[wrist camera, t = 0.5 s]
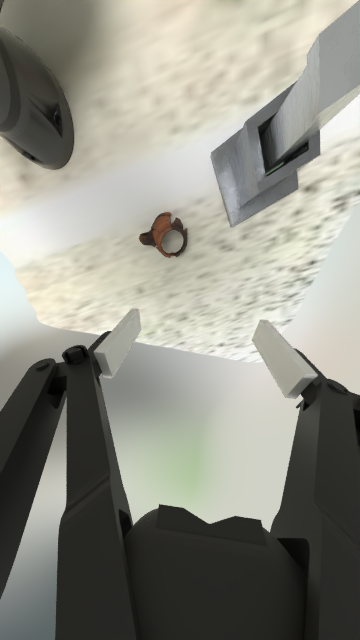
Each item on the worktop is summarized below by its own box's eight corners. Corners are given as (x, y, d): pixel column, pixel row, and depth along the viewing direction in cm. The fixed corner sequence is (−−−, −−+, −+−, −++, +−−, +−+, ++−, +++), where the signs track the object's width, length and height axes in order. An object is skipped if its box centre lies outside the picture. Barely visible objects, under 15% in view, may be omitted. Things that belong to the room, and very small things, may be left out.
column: (238, 168, 27) (318, 31, 10) (270, 145, 26) (440, -74, 8) (244, 192, 29) (320, 114, 11) (274, 173, 27) (420, 45, 10)
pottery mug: (179, 204, 33) (189, 215, 28) (183, 243, 41) (191, 257, 36) (132, 216, 33) (134, 230, 28) (145, 253, 40) (148, 269, 36)
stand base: (210, 156, 28) (220, 103, 17) (284, 98, 24) (358, -20, 13) (230, 227, 34) (247, 220, 23) (293, 191, 29) (350, 161, 19)
